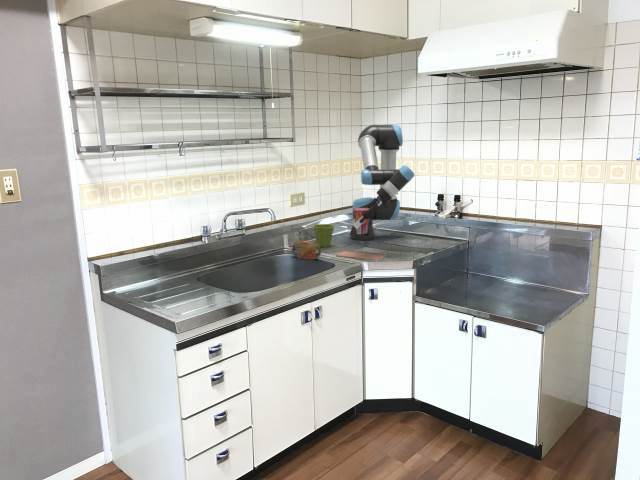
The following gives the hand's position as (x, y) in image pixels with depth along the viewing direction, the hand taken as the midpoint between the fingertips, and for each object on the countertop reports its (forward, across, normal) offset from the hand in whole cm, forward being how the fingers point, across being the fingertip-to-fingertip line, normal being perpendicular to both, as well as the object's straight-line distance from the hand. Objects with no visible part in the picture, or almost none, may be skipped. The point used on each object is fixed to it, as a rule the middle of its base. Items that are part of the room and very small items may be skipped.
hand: (353, 225), depth 258 cm
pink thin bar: (+6, +7, -16) cm, 18 cm away
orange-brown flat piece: (+28, -2, +5) cm, 28 cm away
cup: (0, 0, -5) cm, 5 cm away
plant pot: (+20, +26, -2) cm, 33 cm away
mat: (+9, 0, -13) cm, 16 cm away
